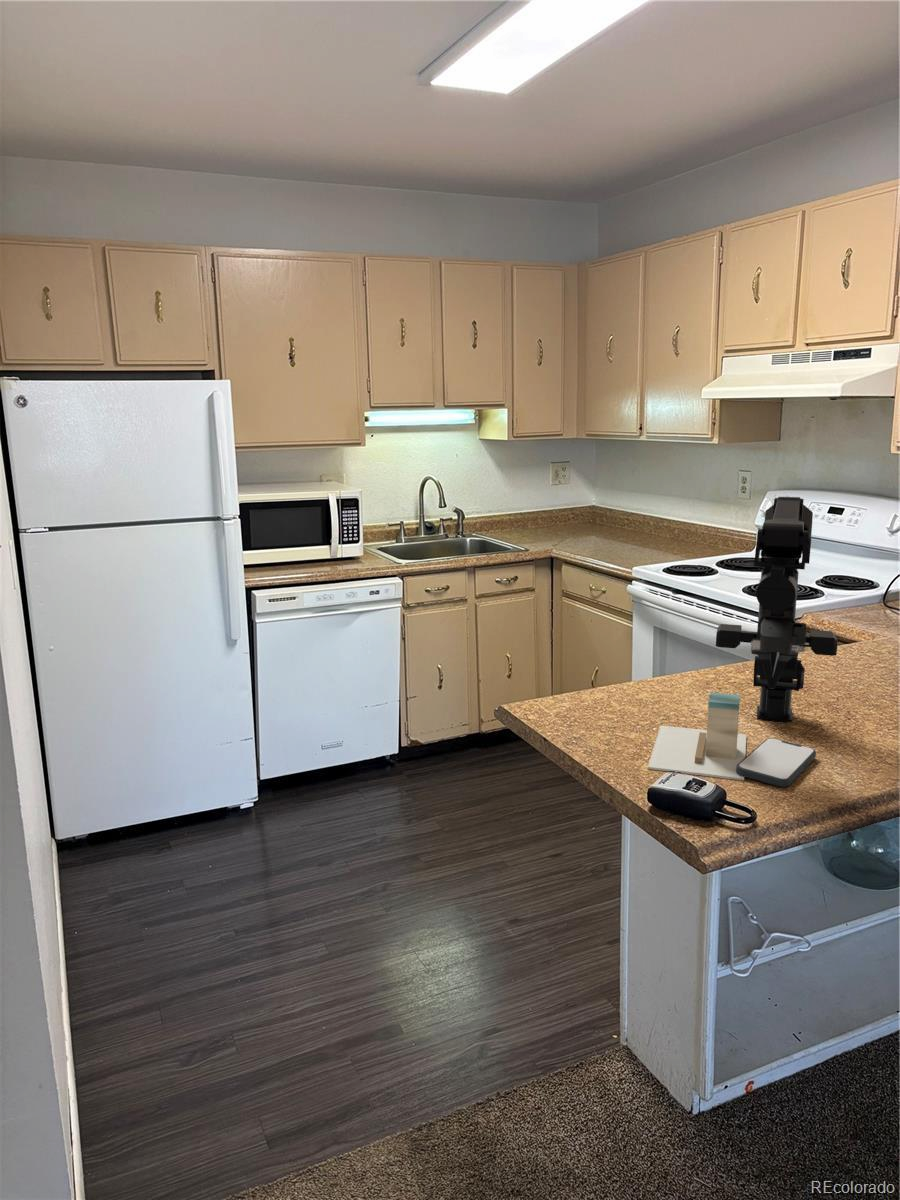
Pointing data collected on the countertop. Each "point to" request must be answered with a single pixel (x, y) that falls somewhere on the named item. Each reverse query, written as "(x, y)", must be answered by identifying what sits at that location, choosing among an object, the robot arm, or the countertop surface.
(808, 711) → the countertop surface
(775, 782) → the phone case
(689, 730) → the grey mat
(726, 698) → the birch block
